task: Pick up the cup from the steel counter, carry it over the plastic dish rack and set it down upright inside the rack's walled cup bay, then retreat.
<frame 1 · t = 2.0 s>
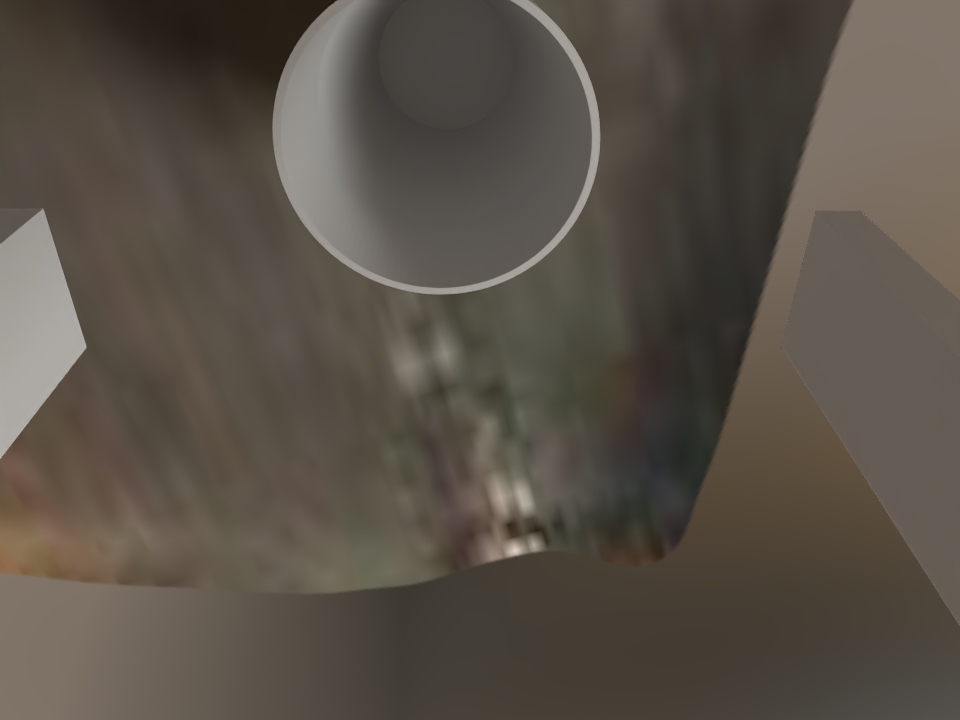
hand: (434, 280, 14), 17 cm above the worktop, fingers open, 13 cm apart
cup: (444, 59, 28), on the worktop
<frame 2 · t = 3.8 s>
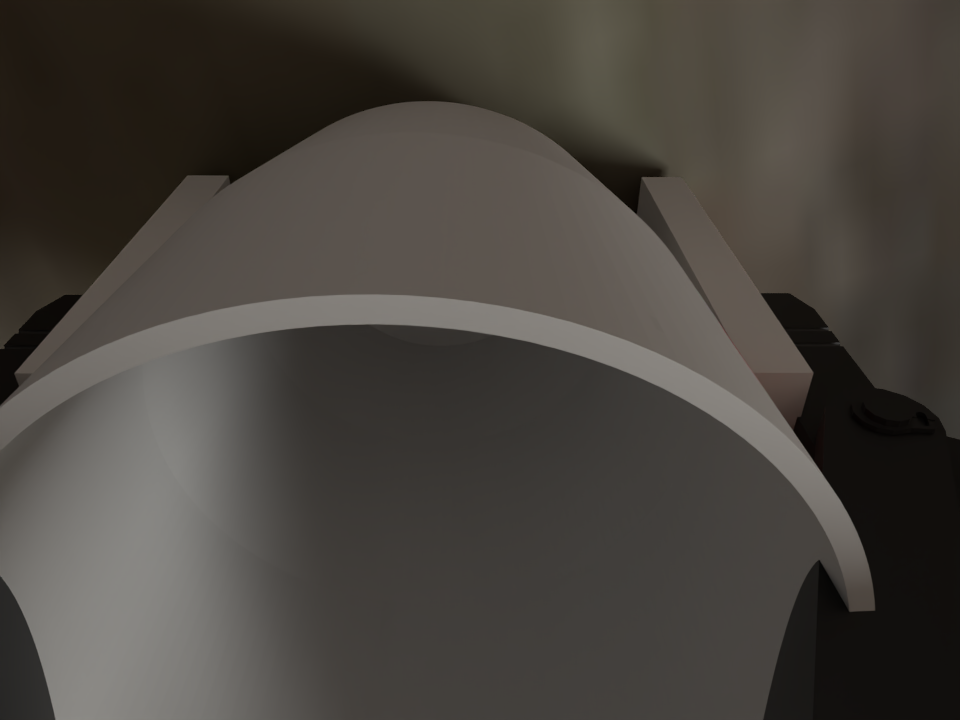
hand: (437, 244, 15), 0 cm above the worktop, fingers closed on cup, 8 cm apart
cup: (437, 233, 15), on the worktop, touching gripper
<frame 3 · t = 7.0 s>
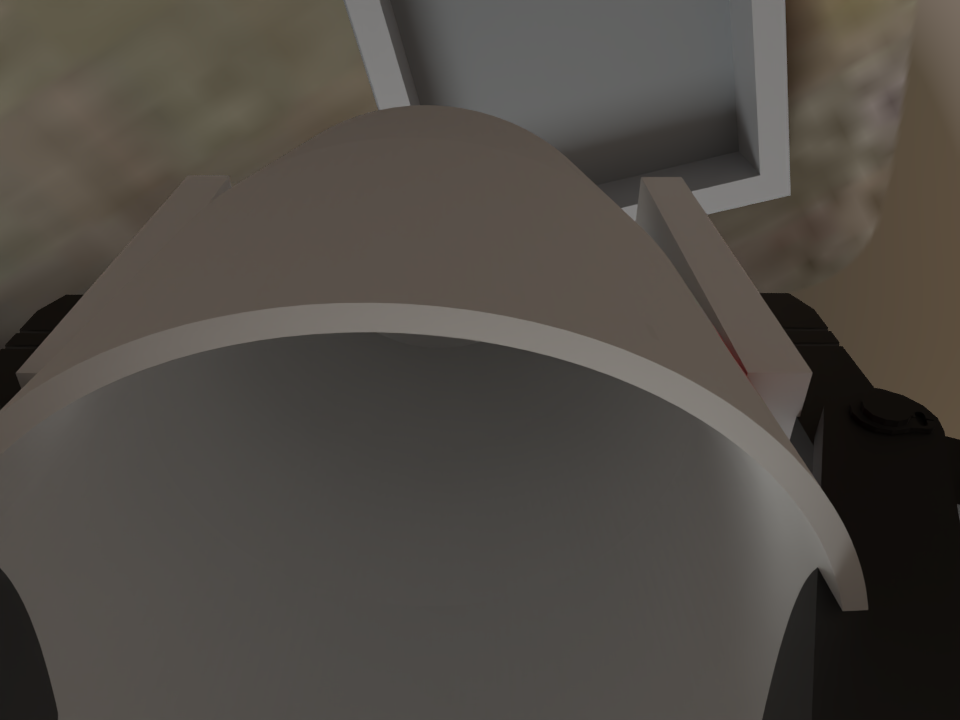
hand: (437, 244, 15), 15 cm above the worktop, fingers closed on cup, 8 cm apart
cup: (435, 235, 15), point 15 cm above the worktop, touching gripper
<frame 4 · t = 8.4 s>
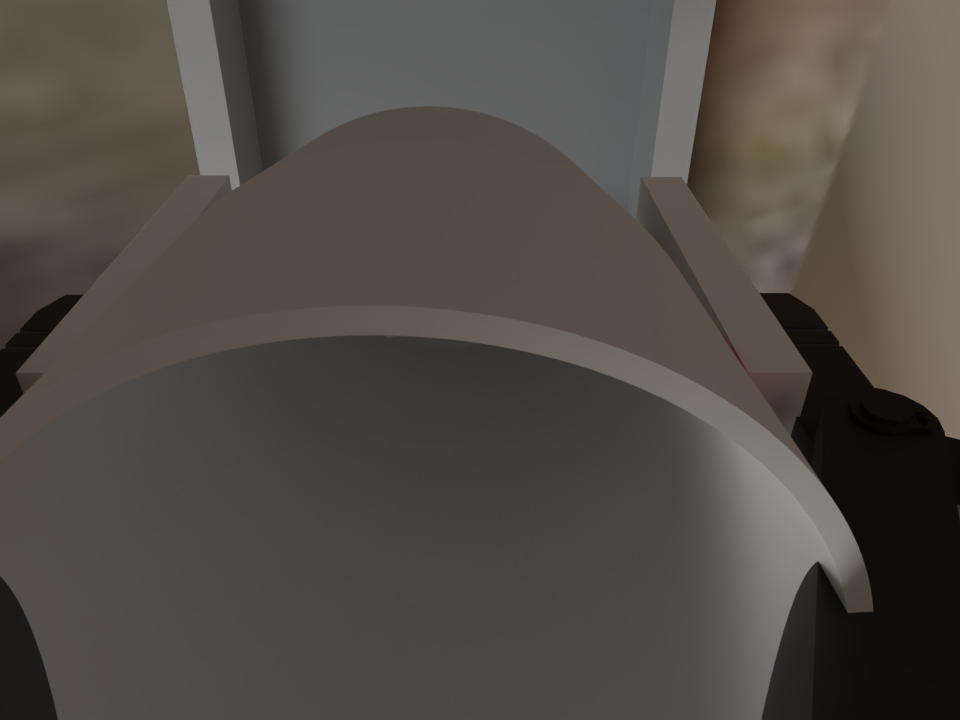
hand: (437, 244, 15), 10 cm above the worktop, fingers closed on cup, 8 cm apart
cup: (437, 236, 15), point 9 cm above the worktop, touching gripper
when the fingers open (4 cm above the worktop, at t = 9.8 s): cup drops 3 cm, resting on dish rack.
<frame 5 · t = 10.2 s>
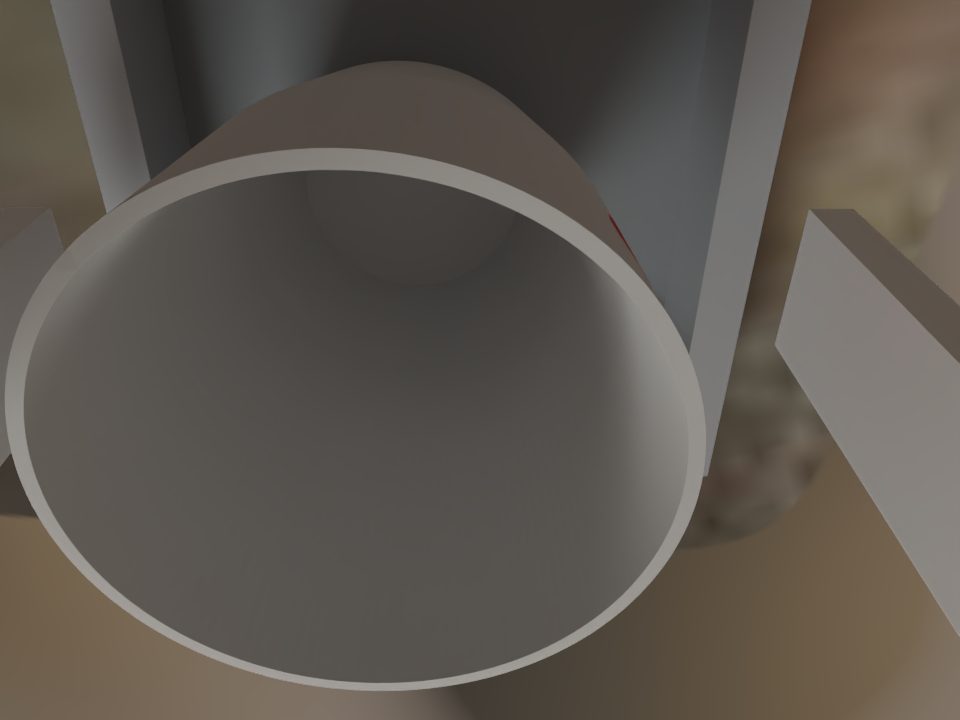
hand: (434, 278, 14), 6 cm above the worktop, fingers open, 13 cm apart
cup: (412, 184, 18), point 1 cm above the worktop, touching dish rack
dish rack: (440, 36, 17), on the worktop
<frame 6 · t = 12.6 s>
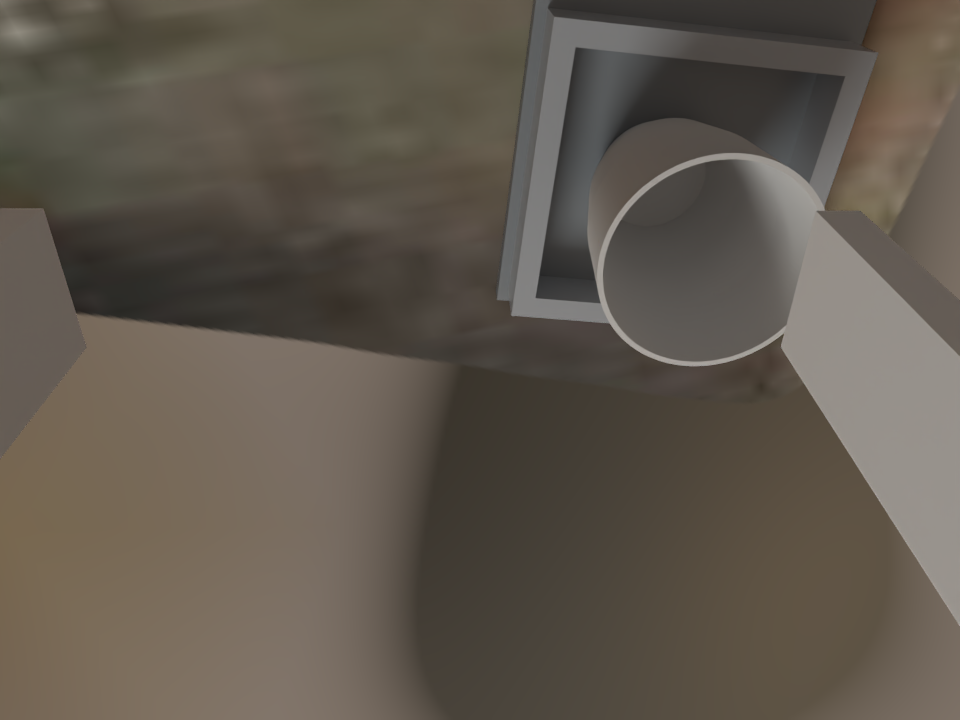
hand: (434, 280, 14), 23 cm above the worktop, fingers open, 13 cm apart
cup: (650, 174, 36), point 1 cm above the worktop, touching dish rack
dish rack: (675, 104, 35), on the worktop
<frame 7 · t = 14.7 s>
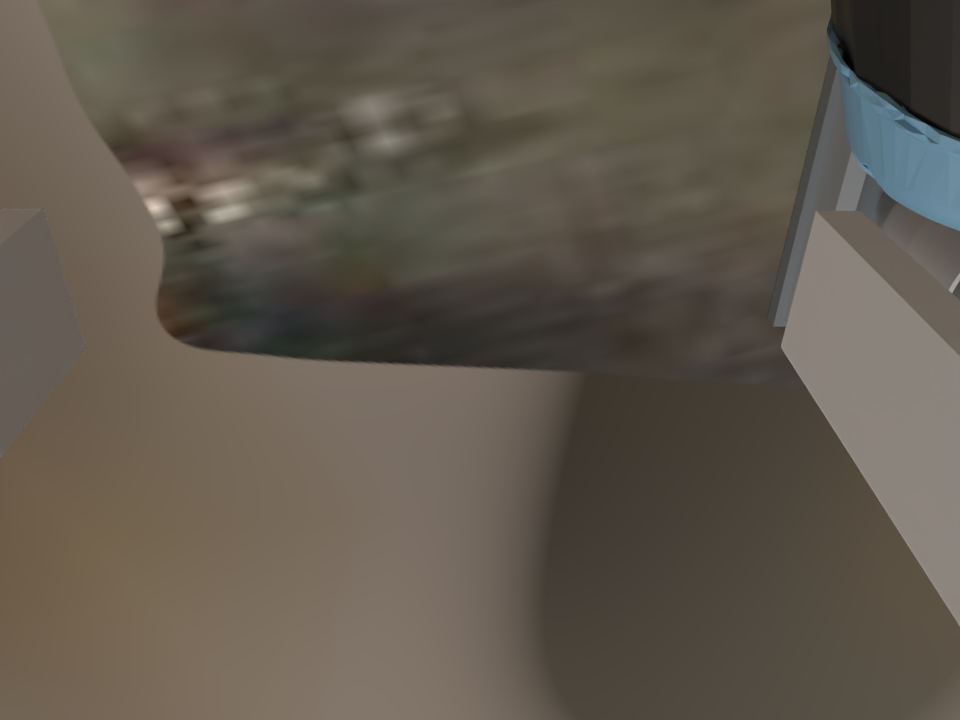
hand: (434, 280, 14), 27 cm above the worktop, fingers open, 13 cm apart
cup: (920, 209, 41), point 1 cm above the worktop, touching dish rack
dish rack: (944, 147, 40), on the worktop
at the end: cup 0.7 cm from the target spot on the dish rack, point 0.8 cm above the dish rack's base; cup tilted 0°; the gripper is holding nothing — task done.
